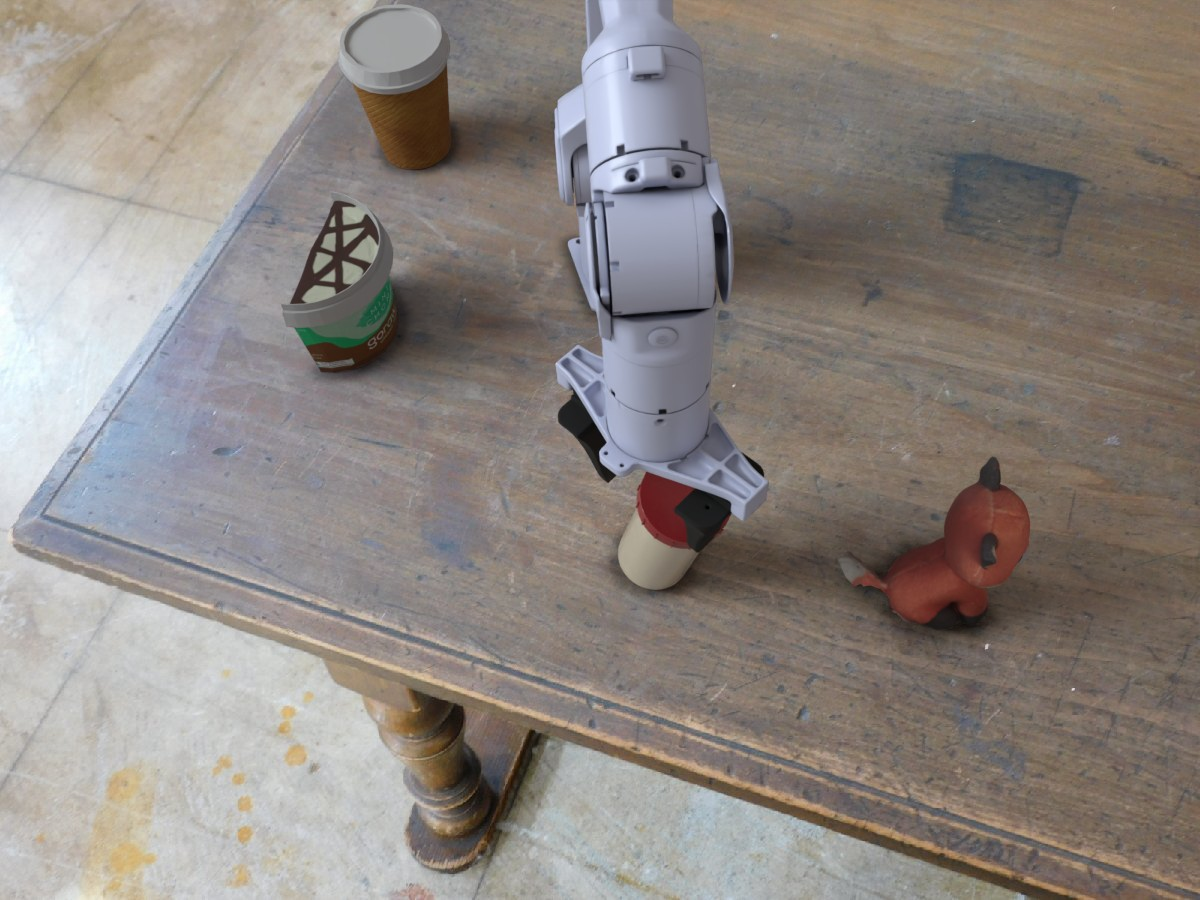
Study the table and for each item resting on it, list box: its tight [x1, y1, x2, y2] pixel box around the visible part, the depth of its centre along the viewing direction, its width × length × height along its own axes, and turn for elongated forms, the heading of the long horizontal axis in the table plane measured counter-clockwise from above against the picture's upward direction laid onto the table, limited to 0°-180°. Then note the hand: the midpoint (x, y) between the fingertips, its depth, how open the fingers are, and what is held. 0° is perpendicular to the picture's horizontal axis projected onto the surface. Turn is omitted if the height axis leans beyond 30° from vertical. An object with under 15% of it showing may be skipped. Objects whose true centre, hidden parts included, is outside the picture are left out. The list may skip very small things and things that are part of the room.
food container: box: [280, 190, 399, 373], centre depth 85 cm, size 12×6×10 cm, turn 168°
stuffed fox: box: [837, 456, 1031, 631], centre depth 71 cm, size 8×11×12 cm
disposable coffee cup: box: [337, 3, 452, 170], centre depth 95 cm, size 10×10×12 cm
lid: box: [635, 471, 732, 550], centre depth 68 cm, size 6×6×1 cm
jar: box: [617, 507, 701, 591], centre depth 73 cm, size 5×5×11 cm
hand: (657, 504), depth 68 cm, fingers open, 7 cm apart
